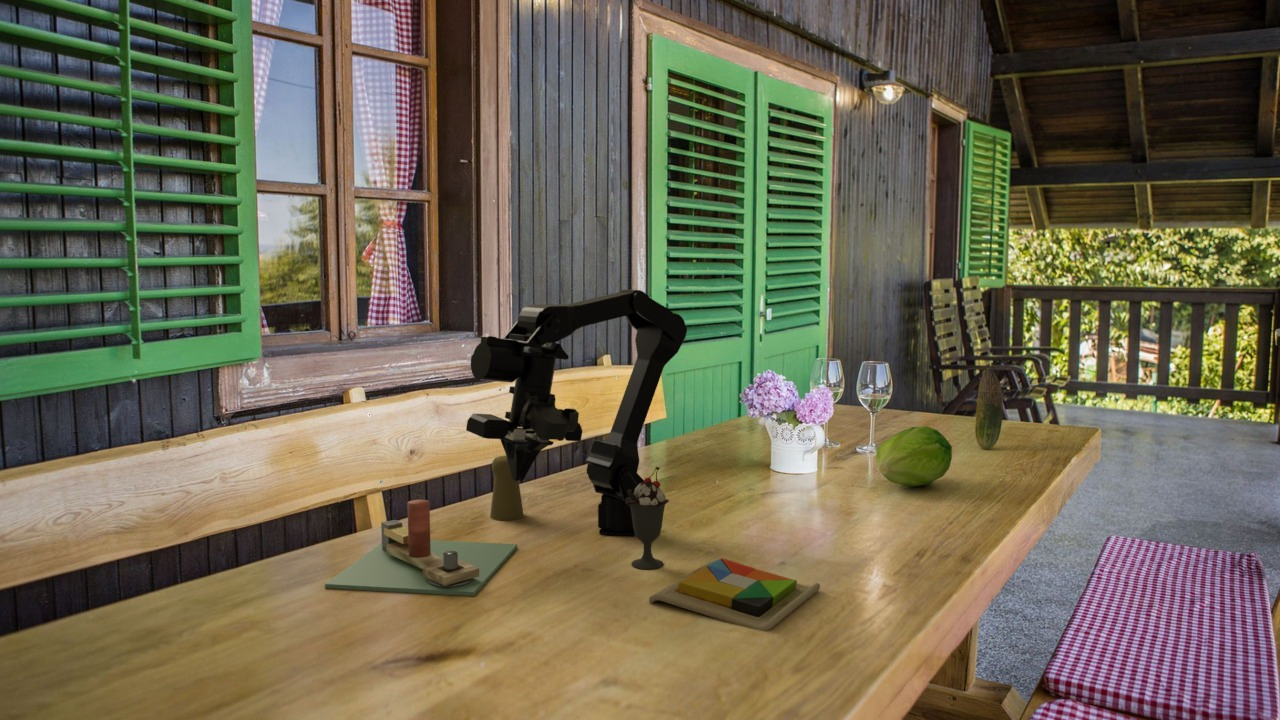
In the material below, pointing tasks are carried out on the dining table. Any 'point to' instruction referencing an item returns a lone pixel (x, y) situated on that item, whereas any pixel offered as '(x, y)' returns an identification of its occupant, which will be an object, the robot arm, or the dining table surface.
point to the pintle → (450, 570)
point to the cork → (505, 492)
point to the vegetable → (988, 410)
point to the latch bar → (427, 548)
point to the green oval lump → (914, 456)
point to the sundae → (647, 518)
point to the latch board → (402, 576)
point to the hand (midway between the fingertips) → (517, 480)
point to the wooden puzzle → (737, 594)
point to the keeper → (393, 533)
